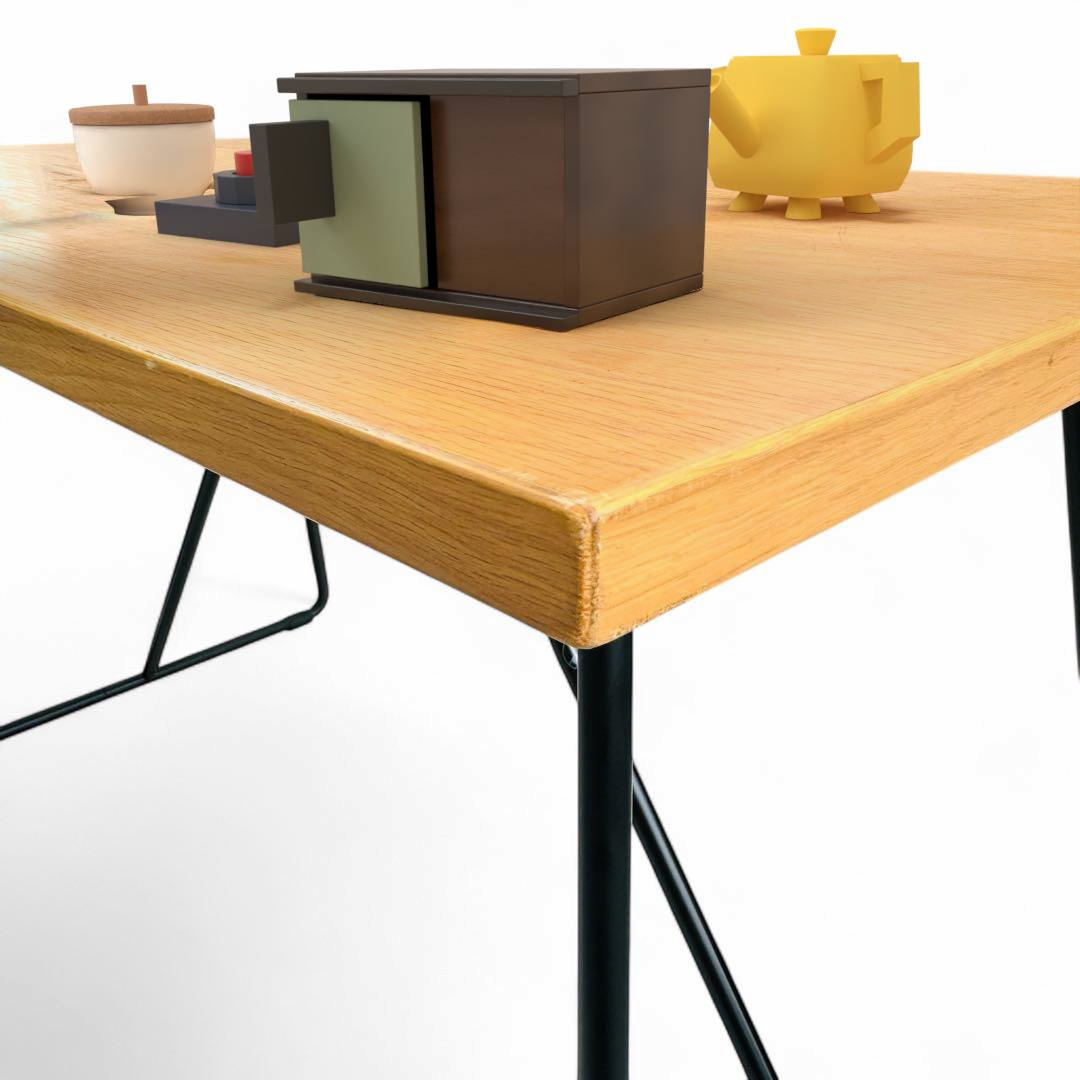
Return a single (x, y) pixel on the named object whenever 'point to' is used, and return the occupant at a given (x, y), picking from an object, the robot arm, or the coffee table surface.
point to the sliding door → (347, 187)
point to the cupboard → (545, 189)
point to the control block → (223, 215)
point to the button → (243, 162)
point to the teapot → (813, 126)
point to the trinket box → (145, 150)
